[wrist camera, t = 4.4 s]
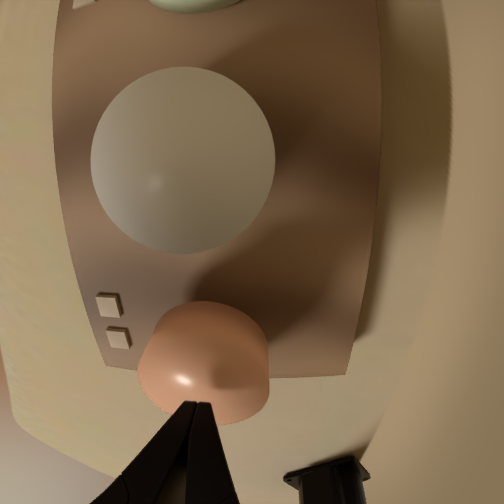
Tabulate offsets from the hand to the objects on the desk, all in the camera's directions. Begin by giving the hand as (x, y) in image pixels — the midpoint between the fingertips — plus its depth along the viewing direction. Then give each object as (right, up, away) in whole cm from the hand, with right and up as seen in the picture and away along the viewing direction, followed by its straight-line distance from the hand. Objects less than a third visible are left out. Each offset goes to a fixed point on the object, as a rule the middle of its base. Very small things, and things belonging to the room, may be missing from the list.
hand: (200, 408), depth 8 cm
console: (0, +9, +2) cm, 9 cm away
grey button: (0, +8, 0) cm, 8 cm away
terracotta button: (0, +1, +3) cm, 3 cm away
